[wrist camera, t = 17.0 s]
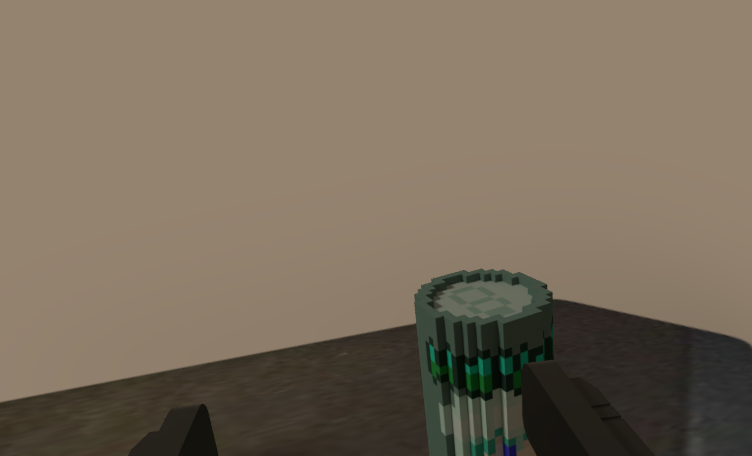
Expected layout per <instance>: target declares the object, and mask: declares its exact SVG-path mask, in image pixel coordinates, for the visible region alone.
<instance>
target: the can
mask: <svg viewBox="0 0 752 456" xmlns="http://www.w3.org/2000/svg"><path fill="white" fill-rule="evenodd" d="M431 281H432V282H431V283H428V284H424V285H421V288H422V289H419V290H418V293H417V294H415V295H414V296H415V303H414V304H415V314H416V324H417V334H418V344H419V354H420V364H421V374H422V384H423V394H424V404H425V414H426V424H427V434H428V444H429V454H430V456H537V455H536V454H535V452H534V450H533V448H532V446H531V444H530V442H529V440H528V438H527V435H526V432H525V429H524V424H523V418H522V366H523V364H525V363H532V362H540V361H548V360H553V297H552V292H551V291H549V290H547V284H545V283H543V282H541V281H538V280H536V279H534V278H532V277H529V276H527V275H525V274H523V273H520V272H518V273H515V274H512V273H510V272H508V271H505V270H500V271H495V270H493V269H491V270H488V271H485V270H483V269H479V270H475V271H471V272H467V271H465V270H463V271H459V272H455V273H452V274H448V275H444V276H441V277H437V278H433V279H431Z"/></svg>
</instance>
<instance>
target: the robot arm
mask: <svg viewBox="0 0 752 456" xmlns="http://www.w3.org/2000/svg"><path fill="white" fill-rule="evenodd" d="M522 418H523V424H524V429H525V432H526V435H527V438H528V440H529V442H530V444H531V446H532V448H533V450H534V452H535V454H536V455H537V456H655V455H654V454H653V453H652V452H651V451H650V449H649V448H648V447H647V446H646V445H645V444H644V442H643V441H642V440H641V439H640V438H639V437H638V435H637V434H636V433H635V432H634V431H633V430H632V428H631V427H630V426H629V425H628V424H627V423H626V421H625V420H624V419H621V415H620V414H619V413H618V412H617V411H616V410H615V408H614V407H613V406H612V407H611V405H610V403H609V401H608V400H607V399H606V398H605V397H604V396H603V394H602V393H601V392H600V391H599V390H598V389H597V388H596V387H594V386H592V385H591V384H589V383H587V382H586V381H584V380H582V379H581V378H579V377H578V378H570V379H569V378H568V376H567V375H566V374H565V373H564V371H563V370H562V369H561V368H560V366H559V365H558V364H557V363H556V361H554V360H548V361H540V362H532V363H525V364H523V366H522ZM128 456H218V452H217V447H216V443H215V439H214V435H213V430H212V426H211V422H210V418H209V413H208V410H207V407H206V406H205V405H204V404H199V405H191V406H183V407H176V408H172V409H171V410H170V411H169V413H168V415H167V417H166V419H165V421H164V423H163V425H162V426H161V428H160V430H159V431H157V432H149V433H148V434H147V435H146V436H145V437H144V438H143V439H142V440H141V441H140V442H139V443H138V444H137V445H136V446H135V447H134V448H133V449H132V450H131V451H130V453H129V455H128Z"/></svg>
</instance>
